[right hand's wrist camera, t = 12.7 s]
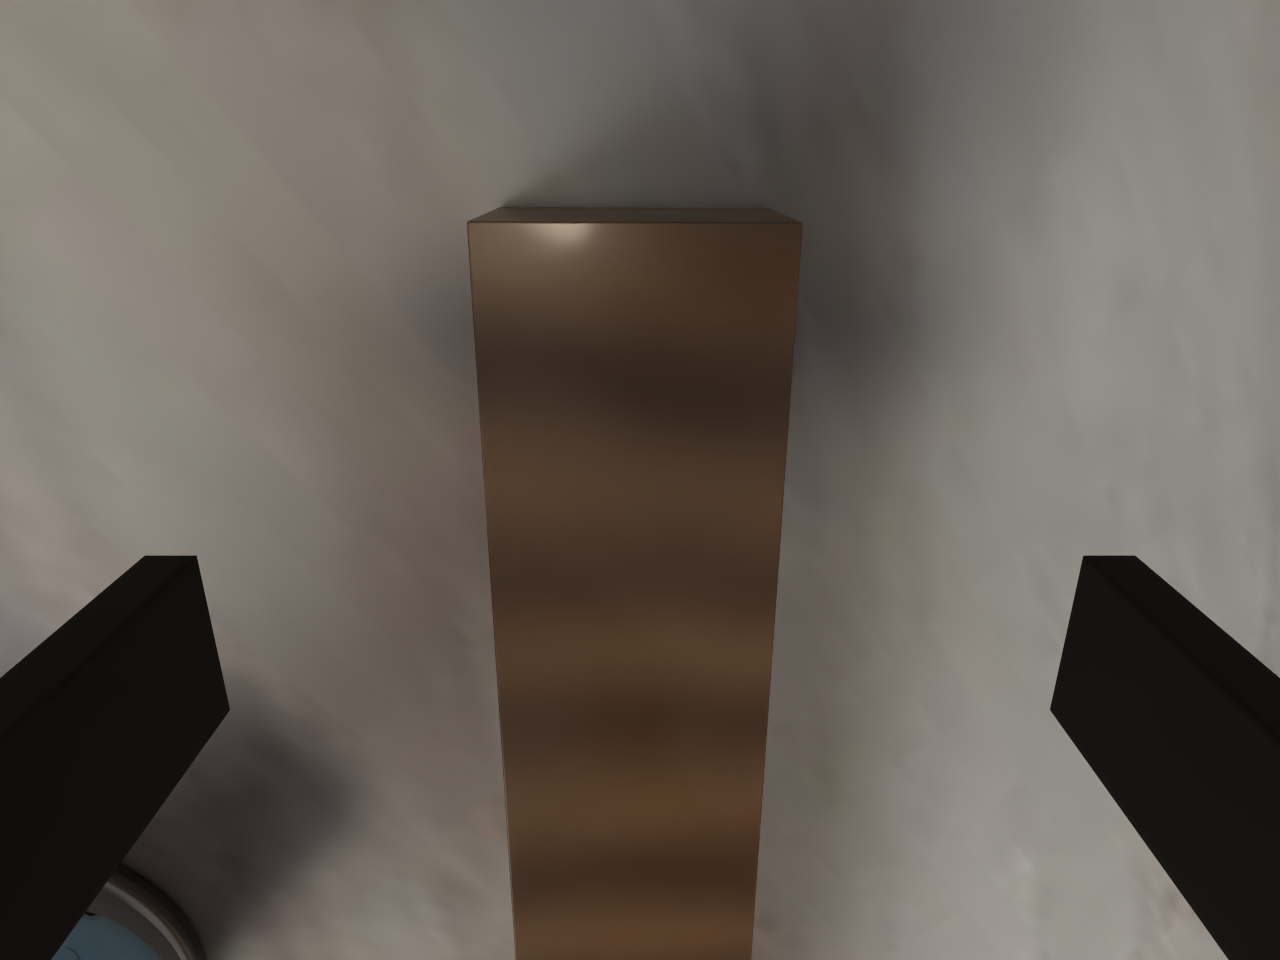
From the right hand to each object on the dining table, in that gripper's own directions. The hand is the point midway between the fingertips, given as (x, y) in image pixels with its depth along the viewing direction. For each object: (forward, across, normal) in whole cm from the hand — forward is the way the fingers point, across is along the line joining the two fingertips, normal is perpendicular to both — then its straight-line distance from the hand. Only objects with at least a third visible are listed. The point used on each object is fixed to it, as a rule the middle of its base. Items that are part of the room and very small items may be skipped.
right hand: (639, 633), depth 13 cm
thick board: (+22, 0, -21) cm, 30 cm away
